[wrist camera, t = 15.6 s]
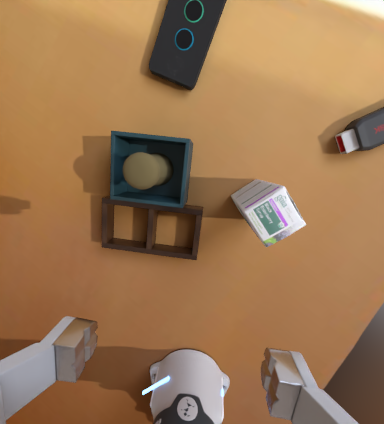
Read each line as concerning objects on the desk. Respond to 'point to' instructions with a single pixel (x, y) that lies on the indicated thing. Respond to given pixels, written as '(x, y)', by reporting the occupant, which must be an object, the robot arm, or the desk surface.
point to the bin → (170, 146)
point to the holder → (150, 245)
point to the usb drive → (362, 133)
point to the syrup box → (268, 210)
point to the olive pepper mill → (147, 170)
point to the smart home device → (185, 40)
